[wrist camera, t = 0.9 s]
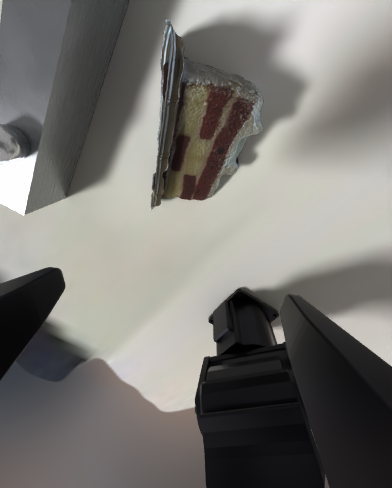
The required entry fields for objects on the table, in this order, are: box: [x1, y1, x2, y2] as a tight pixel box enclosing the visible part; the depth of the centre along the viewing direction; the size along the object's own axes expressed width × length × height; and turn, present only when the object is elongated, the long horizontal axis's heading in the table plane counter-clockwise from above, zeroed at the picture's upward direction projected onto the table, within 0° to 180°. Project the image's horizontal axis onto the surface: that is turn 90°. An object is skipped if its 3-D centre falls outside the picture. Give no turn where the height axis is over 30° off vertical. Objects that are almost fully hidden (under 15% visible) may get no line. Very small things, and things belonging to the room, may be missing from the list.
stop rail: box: [0, 0, 129, 215], centre depth 11 cm, size 3×26×7 cm, turn 147°
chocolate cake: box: [151, 19, 263, 210], centre depth 15 cm, size 10×7×12 cm
